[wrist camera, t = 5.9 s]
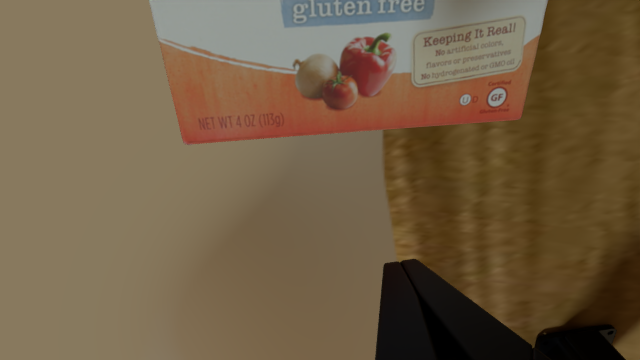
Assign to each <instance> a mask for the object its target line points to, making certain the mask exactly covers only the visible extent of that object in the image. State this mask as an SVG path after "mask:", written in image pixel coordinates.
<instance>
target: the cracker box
mask: <svg viewBox="0 0 640 360" xmlns="http://www.w3.org/2000/svg"><path fill="white" fill-rule="evenodd" d="M547 1H548V0H149V2H150V7H151V10H152V15H153V20H154V24H155V29H156V32H157V37H158V40H159V43H160V47H161V51H162V56H163V60H164V64H165V69H166V73H167V77H168V81H169V86H170V90H171V94H172V97H173V101H174V105H175V109H176V114H177V118H178V122H179V126H180V131H181V135H182V139H183V142H184V143H185V144H187V145H192V144H200V143H213V142H226V141H238V140H251V139H262V138H263V139H264V138H277V137H289V136H303V135H317V134H331V133H345V132H358V131H371V130H385V129H398V128H411V127H424V126H438V125H452V124H465V123H479V122H492V121H507V120H517V119H520V118H521V116H522V113H523V107H524V103H525V99H526V95H527V90H528V85H529V81H530V76H531V72H532V68H533V64H534V60H535V55H536V51H537V46H538V41H539V37H540V33H541V29H542V24H543V18H544V14H545V10H546V5H547Z"/></svg>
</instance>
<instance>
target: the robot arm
mask: <svg viewBox="0 0 640 360" xmlns="http://www.w3.org/2000/svg"><path fill="white" fill-rule="evenodd" d="M379 312H380V313H379V323H378V334H377V344H376V355H375V356H376V357H375V360H626V359H625V358H624V357H623V356H622V355H621V354H620V353H619V352H618V351H617V350H616V349H615V348H614V347H613V346H612V342H613V339H614V337H615V334H616V331H617V330H616V329H615V328H614V327H613V326H612V325H604V326H598V327H591V328H585V329H579V330H572V331H566V332H560V333H553V334H547V335H542V336H540V337H539V338H538V339H537V342H536V346H535V348H533V349H532V345H531V344H529V343H528V342H527V341H525V340H524V339H523V338H521V337H520V336H519V335H517V334H516V333H515V332H513V331H512V330H511V329H509V328H508V327H507V326H505V325H504V324H502V323H501V322H500V321H498V320H497V319H496V318H494V317H493V316H492V315H490V314H489V313H488V312H486V311H485V310H484V309H482V308H481V307H480V306H478V305H477V304H476V303H474V302H473V301H472V300H470V299H469V298H468V297H466V296H465V295H464V294H462V293H461V292H460V291H458V290H457V289H456V288H454V287H453V286H452V285H450V284H449V283H448V282H446V281H445V280H444V279H442V278H441V277H440V276H438V275H437V274H436V273H434V272H433V271H432V270H430V269H429V268H428V267H426V266H425V265H424V264H422V263H421V262H420V261H418V260H416V259H410V260H403V261H401V262H390V263H385V264H384V267H383V278H382V289H381V300H380V311H379Z"/></svg>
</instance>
